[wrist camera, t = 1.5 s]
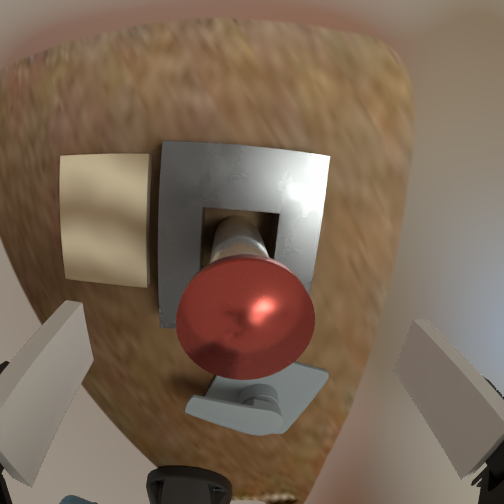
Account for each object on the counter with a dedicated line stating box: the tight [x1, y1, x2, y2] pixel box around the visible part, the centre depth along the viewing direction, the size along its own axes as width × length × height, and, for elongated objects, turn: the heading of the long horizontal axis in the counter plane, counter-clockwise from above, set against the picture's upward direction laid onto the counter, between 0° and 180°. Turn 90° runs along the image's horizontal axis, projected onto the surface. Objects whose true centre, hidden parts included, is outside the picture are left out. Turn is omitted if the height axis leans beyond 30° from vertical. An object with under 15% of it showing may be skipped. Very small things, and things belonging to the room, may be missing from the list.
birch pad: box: [60, 154, 153, 288], centre depth 25 cm, size 12×9×1 cm
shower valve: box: [185, 361, 329, 435], centre depth 30 cm, size 12×6×15 cm
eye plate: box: [158, 141, 330, 329], centre depth 25 cm, size 16×13×3 cm
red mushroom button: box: [176, 216, 315, 380], centre depth 20 cm, size 6×6×15 cm
